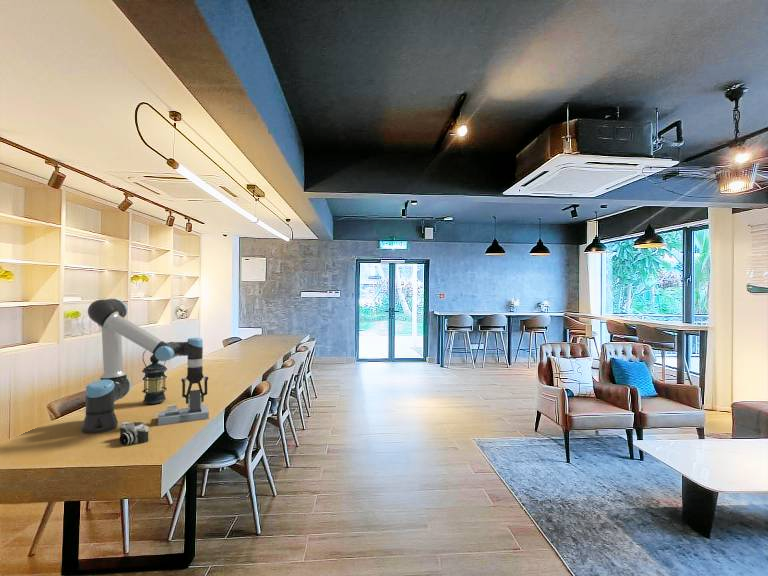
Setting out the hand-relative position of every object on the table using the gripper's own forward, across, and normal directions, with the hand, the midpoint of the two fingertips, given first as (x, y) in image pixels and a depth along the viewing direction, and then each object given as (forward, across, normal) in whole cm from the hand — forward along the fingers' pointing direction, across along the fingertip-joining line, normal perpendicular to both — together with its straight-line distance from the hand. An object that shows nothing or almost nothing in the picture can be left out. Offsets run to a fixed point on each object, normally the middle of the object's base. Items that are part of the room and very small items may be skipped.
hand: (194, 408), depth 222 cm
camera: (+6, -28, -25) cm, 38 cm away
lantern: (+5, -20, +43) cm, 48 cm away
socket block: (+5, -6, +1) cm, 8 cm away
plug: (0, 0, 0) cm, 0 cm away
